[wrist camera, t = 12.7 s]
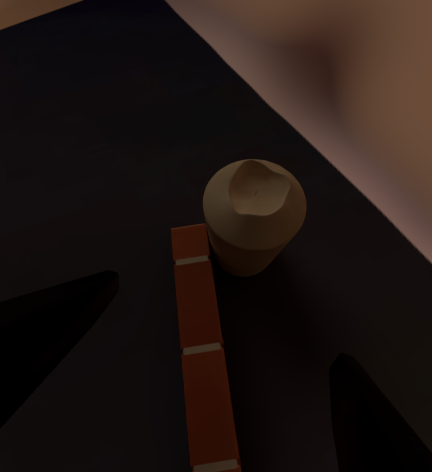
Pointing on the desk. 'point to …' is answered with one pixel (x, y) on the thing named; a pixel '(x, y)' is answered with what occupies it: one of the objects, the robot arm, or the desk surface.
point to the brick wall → (203, 356)
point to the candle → (252, 214)
